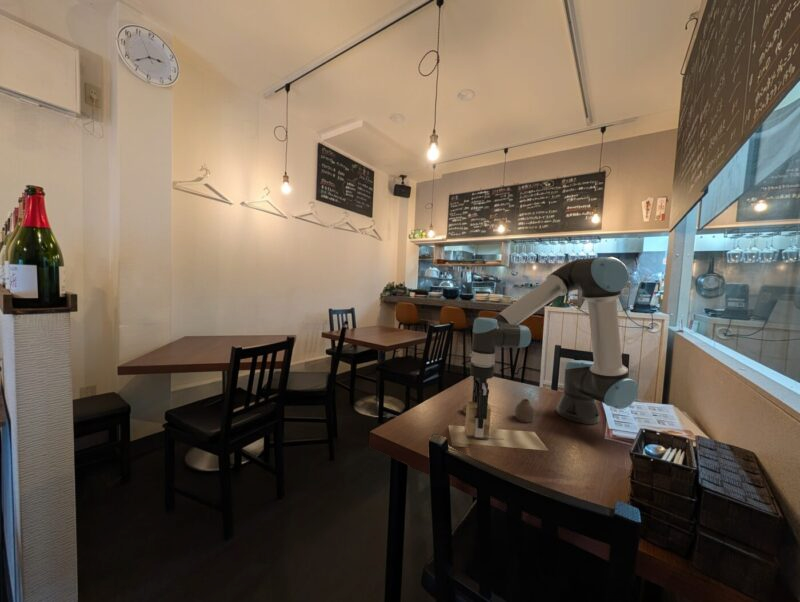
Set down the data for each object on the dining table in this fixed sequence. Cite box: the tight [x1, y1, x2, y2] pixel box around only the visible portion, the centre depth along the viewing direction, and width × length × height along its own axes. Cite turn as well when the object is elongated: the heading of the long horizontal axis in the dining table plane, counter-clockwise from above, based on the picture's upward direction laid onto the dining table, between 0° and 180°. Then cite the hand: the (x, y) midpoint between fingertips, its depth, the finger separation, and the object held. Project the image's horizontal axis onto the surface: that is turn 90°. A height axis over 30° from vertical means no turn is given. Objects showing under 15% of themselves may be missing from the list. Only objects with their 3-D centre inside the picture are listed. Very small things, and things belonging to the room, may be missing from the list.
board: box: [448, 424, 549, 451], centre depth 104 cm, size 30×12×1 cm, turn 87°
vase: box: [514, 398, 535, 424], centre depth 119 cm, size 7×7×9 cm
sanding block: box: [464, 401, 492, 439], centre depth 103 cm, size 7×5×10 cm
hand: (477, 432), depth 104 cm, fingers closed on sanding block, 5 cm apart
